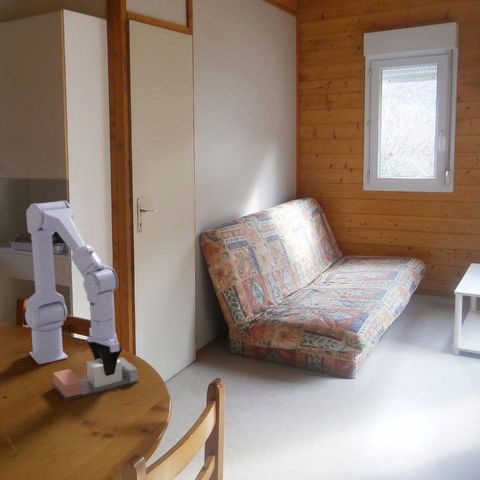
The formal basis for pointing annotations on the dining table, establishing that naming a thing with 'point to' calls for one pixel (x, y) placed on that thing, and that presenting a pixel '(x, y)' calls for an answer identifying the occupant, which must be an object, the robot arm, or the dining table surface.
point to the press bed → (127, 378)
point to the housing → (102, 373)
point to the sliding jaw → (68, 383)
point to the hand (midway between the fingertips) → (105, 370)
